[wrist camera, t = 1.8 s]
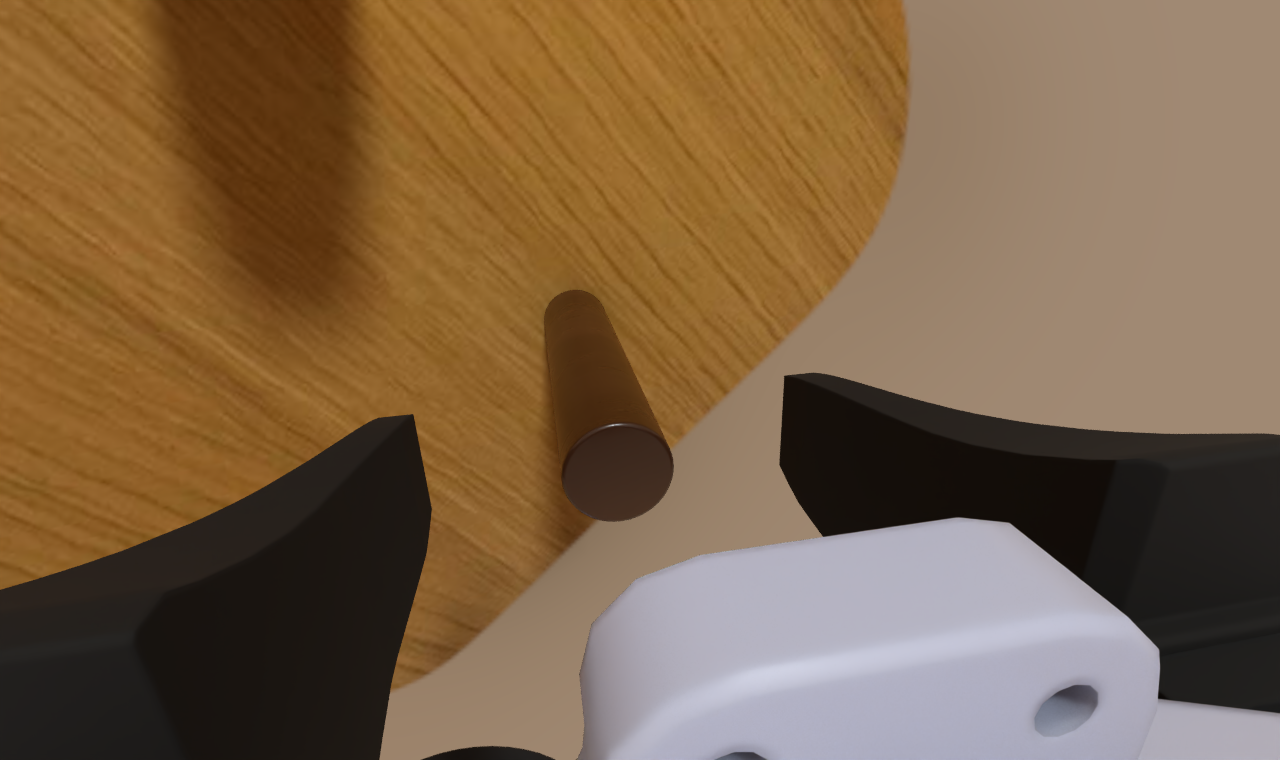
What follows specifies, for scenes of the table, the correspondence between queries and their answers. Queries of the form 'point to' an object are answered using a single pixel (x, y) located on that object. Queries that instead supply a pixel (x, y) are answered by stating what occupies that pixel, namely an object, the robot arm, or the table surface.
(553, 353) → the stirring stick
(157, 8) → the table surface
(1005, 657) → the robot arm
